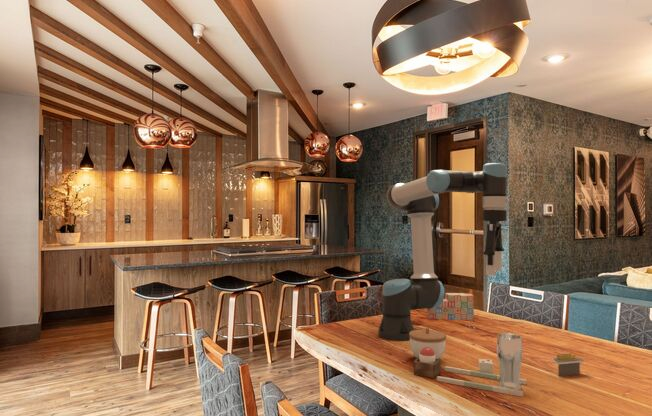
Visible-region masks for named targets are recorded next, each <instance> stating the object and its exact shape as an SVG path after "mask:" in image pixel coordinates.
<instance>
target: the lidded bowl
mask: <svg viewBox="0 0 652 416" xmlns="http://www.w3.org/2000/svg"><path fill="white" fill-rule="evenodd" d="M409 337H410V340H409V346H410V347H409V348H410V350H411V353H412V354H413V356H414V357H415V359H417V358H418V357H419V353H420V351H421V350H422V349H423V348H425V347H429V348H431V349H432V350H433V351H434V353H435V358H439V359H441V358H442V357H443V356H444V353H445V351H446V346H447V345H446V343H447V340H446V339H447V335H446V333H444V332H442V331H440V330H436V329H435V330H434V329H430V328H429V327H425V329H424V328H422V329H414V330H413V331H411V332H410V333H409Z"/></svg>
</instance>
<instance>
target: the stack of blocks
mask: <svg viewBox="0 0 652 416" xmlns="http://www.w3.org/2000/svg"><path fill="white" fill-rule="evenodd" d="M474 297H475V296H474V295H473V294H472V293H465V292H445V295H444V300H443V302H442V303H441V305H440V306H439V307H437V308H431V309H427V311H426V312H427V316H428V317H427V318H428V320H436V319H438V320H437V321H440V320H441V321H442V320H443V321H444V320H445V321H474V312H475V311H474V308H475V307H474V304H475V301H474Z"/></svg>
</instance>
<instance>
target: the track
mask: <svg viewBox="0 0 652 416" xmlns="http://www.w3.org/2000/svg"><path fill="white" fill-rule="evenodd" d="M444 371H445V372H449V373H450V372H451V373H456V374H462V375H467V376H473V377H479V378H485V379H490V380H496V381H499V380H500V374H495V373H493V374H490V373H484V372H479V370H478V371H476V370H472V369H471V370H470V369H464V368H459V367H452V366H444ZM436 381H437V382H440V383H447V384H452V385H456V386H461V387H467V388H474V389H478V390H479V389H480V390H484V391H489V392H494V393H495V392H496V393H500V394H506V395H512V396H517V397H524V390H514V389H508V388H503V387H499V386H496V385H490V384H484V383H481V382H476V381H467V380H462V379H457V378H451V377H446V376H441V375H440V376H439V375H438V376H437V377H436ZM520 384H521V385H524V386H525V385H527V379H526V378H520Z"/></svg>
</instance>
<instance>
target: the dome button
mask: <svg viewBox="0 0 652 416" xmlns="http://www.w3.org/2000/svg"><path fill="white" fill-rule="evenodd" d="M419 362H424V363H430V364H434V363H435V353H434V351H433V350H432V349H431V348H429V347H425V348H423V349H422V350H421V351H420V353H419Z"/></svg>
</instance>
